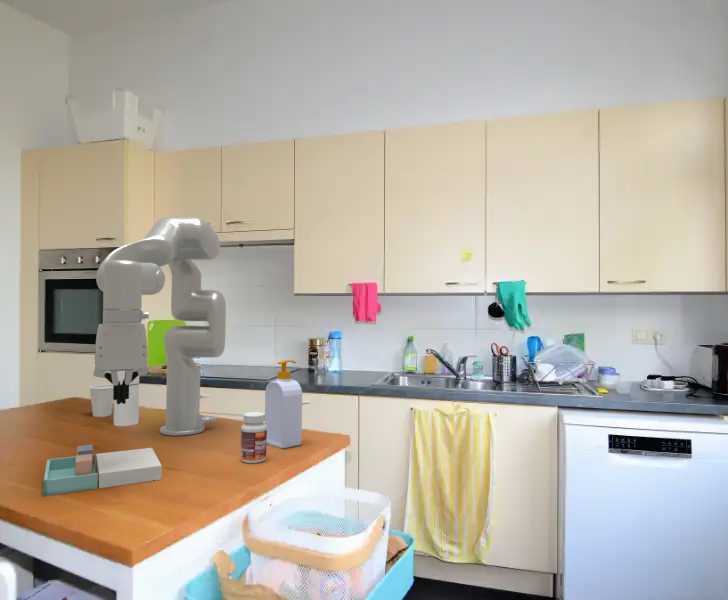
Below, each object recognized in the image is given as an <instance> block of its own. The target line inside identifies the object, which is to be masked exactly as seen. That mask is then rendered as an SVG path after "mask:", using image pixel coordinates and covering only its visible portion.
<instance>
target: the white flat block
mask: <svg viewBox="0 0 728 600" xmlns="http://www.w3.org/2000/svg"><path fill="white" fill-rule="evenodd" d="M162 468H163V466H162V464H161V462H160V459H158V456H157V454H156V453H155V451H154V448H153V447H146V448H136V449H128V450H120V451H111V452H102V453H96V454H95V471H96V473H98V483H97V486H98V489H104V488H111V487H119V486H125V485H130V484H131V485H132V484H139V483H140V482H141V483H146V482H147V481H148V482H152V481H153V480H155V481H161V480H162V474H163V473H162Z"/></svg>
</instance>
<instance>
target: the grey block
mask: <svg viewBox="0 0 728 600" xmlns="http://www.w3.org/2000/svg"><path fill="white" fill-rule="evenodd" d="M86 454H92V473H93V454H94V446H93V444H85V445H77V447H76V455H86Z"/></svg>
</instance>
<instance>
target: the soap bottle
mask: <svg viewBox="0 0 728 600" xmlns="http://www.w3.org/2000/svg"><path fill="white" fill-rule="evenodd" d="M287 363H293V364H295V365H296V364H297V362H296V361H294V360H290V359H288V360H287V359H286V360H284V359H282V360H280V361H278V362H277V365H281V370H278V371H277V378H276V380H272V381H270V382H269V383H267V385H266V388H265V392H264V393H265V394H264V396H265V397H264V399H265V400H264V413H265V421H264V424H265V425H266V426H267V443H266V445H267V444H268V445H270V446H273V447H276V448H279V449H281V450H283V449H287V448H288V449H289V448H292V447H297V446H298V447H299V446H301V445H302V433H303V431H302V428H303V427H302V425H303V424H302V423H303V390H302V386H301V385H300V383H299V382H298V381H297V380H296V379H292V378H291V370H287V365H288V364H287Z"/></svg>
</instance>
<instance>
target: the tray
mask: <svg viewBox="0 0 728 600" xmlns="http://www.w3.org/2000/svg"><path fill="white" fill-rule="evenodd" d="M75 461H76V455H74V456H67V457H56V458H49V459H48V458H47V459H46V466H45V470H44V471H45V472H44V475H43V476H44V477H43V494H42V495H43V496H42V497H47V496H53V495H54V496H55V495H62V494H69V493H75V492H76V493H77V492H82V491H89V490H90V491H91V490H96V489H98V473H97V470H96V454H95V453H93V473H92V474H86V475H79V476H75Z"/></svg>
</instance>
